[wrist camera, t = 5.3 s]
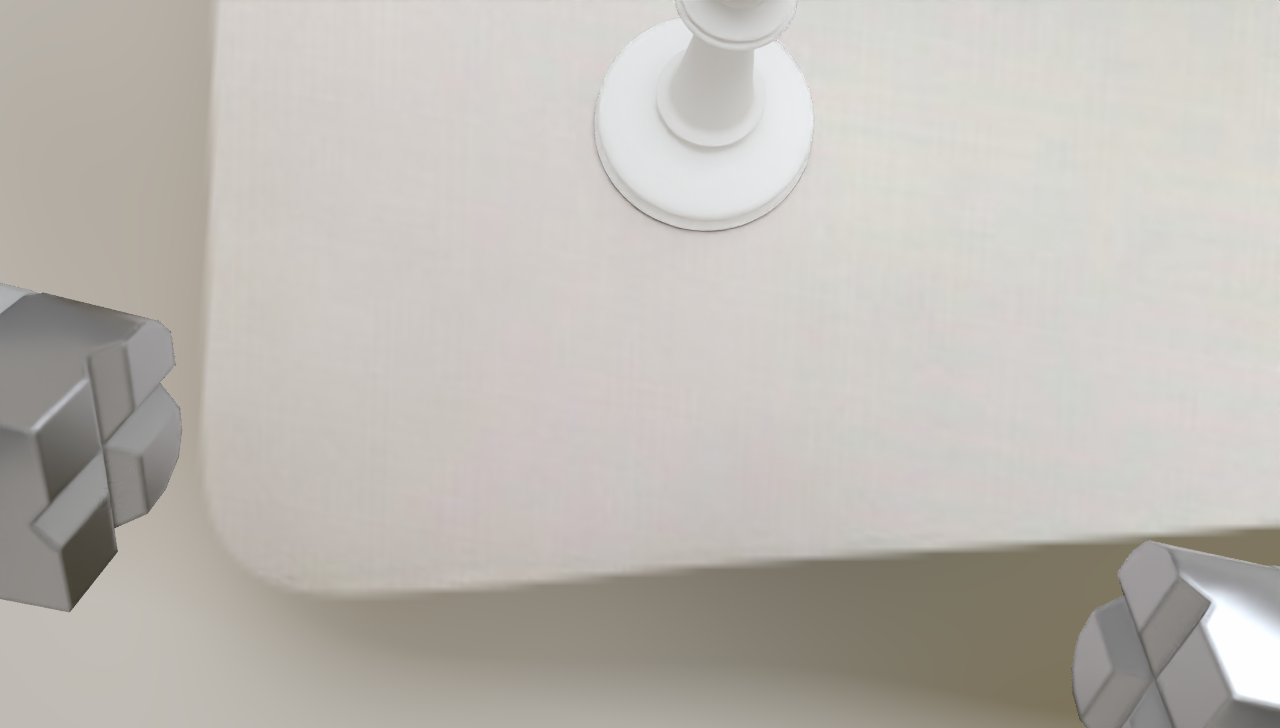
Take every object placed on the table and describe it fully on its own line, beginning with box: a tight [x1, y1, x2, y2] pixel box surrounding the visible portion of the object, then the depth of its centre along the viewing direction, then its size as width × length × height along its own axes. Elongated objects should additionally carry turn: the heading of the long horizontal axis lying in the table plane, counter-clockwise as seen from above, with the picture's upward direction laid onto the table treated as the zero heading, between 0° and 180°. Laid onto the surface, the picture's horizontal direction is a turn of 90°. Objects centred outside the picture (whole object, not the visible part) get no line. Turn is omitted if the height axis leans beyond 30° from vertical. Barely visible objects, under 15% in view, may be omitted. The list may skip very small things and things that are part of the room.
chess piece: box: [594, 0, 814, 231], centre depth 18 cm, size 5×5×10 cm
